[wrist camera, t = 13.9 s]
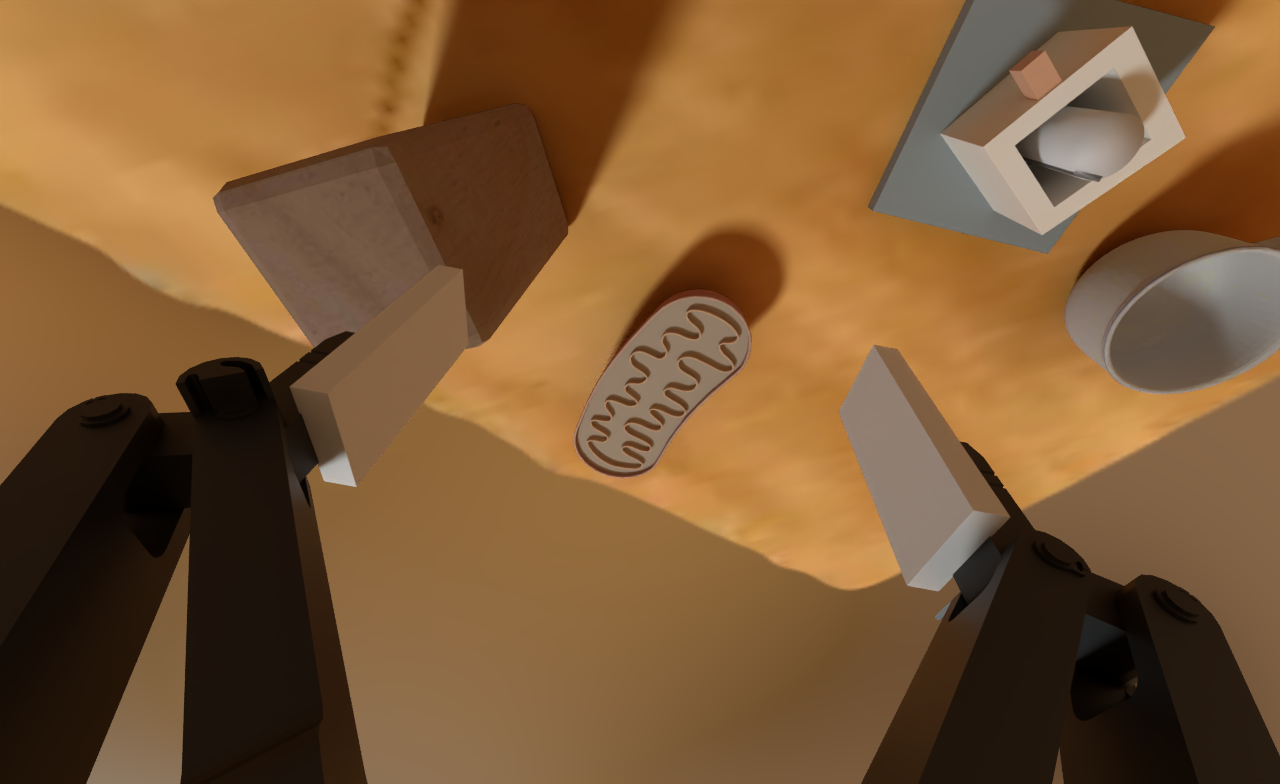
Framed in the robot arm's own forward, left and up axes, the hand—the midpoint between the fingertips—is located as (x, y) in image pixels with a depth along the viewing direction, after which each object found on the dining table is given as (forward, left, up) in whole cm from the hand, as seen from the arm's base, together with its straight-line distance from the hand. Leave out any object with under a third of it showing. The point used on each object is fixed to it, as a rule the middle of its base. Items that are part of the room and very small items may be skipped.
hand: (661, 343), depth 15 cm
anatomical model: (+18, +2, -27) cm, 32 cm away
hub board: (-8, +22, -26) cm, 35 cm away
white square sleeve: (-8, +22, -25) cm, 34 cm away
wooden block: (+4, -14, -26) cm, 30 cm away
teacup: (-1, +38, -27) cm, 46 cm away
